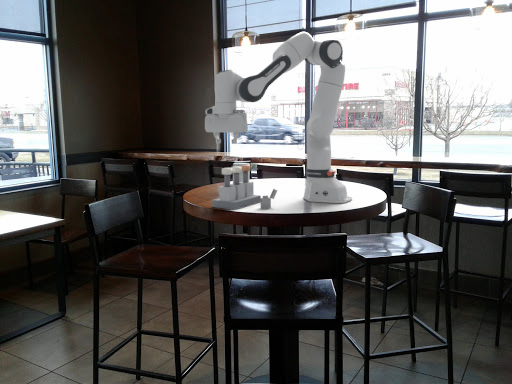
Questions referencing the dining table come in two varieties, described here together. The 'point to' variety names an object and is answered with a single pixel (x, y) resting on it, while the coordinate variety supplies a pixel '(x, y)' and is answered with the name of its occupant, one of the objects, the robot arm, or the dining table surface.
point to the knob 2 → (245, 172)
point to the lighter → (268, 199)
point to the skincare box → (241, 172)
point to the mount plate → (236, 196)
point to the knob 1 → (226, 176)
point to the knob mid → (236, 174)
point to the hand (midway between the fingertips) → (226, 143)
